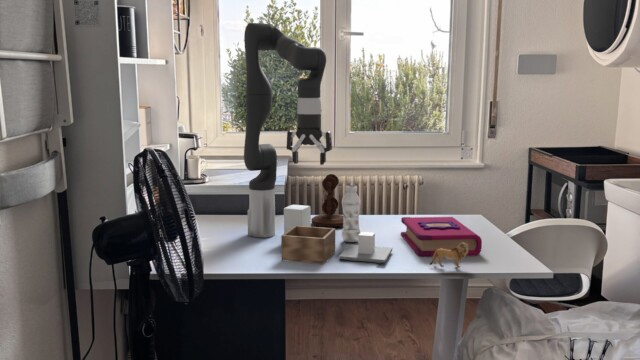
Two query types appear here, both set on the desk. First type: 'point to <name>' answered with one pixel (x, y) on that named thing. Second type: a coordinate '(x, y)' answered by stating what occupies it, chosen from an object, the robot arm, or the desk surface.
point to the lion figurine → (451, 254)
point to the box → (308, 244)
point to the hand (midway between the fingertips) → (309, 164)
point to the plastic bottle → (351, 214)
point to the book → (438, 235)
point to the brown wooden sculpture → (329, 205)
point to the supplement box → (297, 216)
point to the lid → (366, 250)
